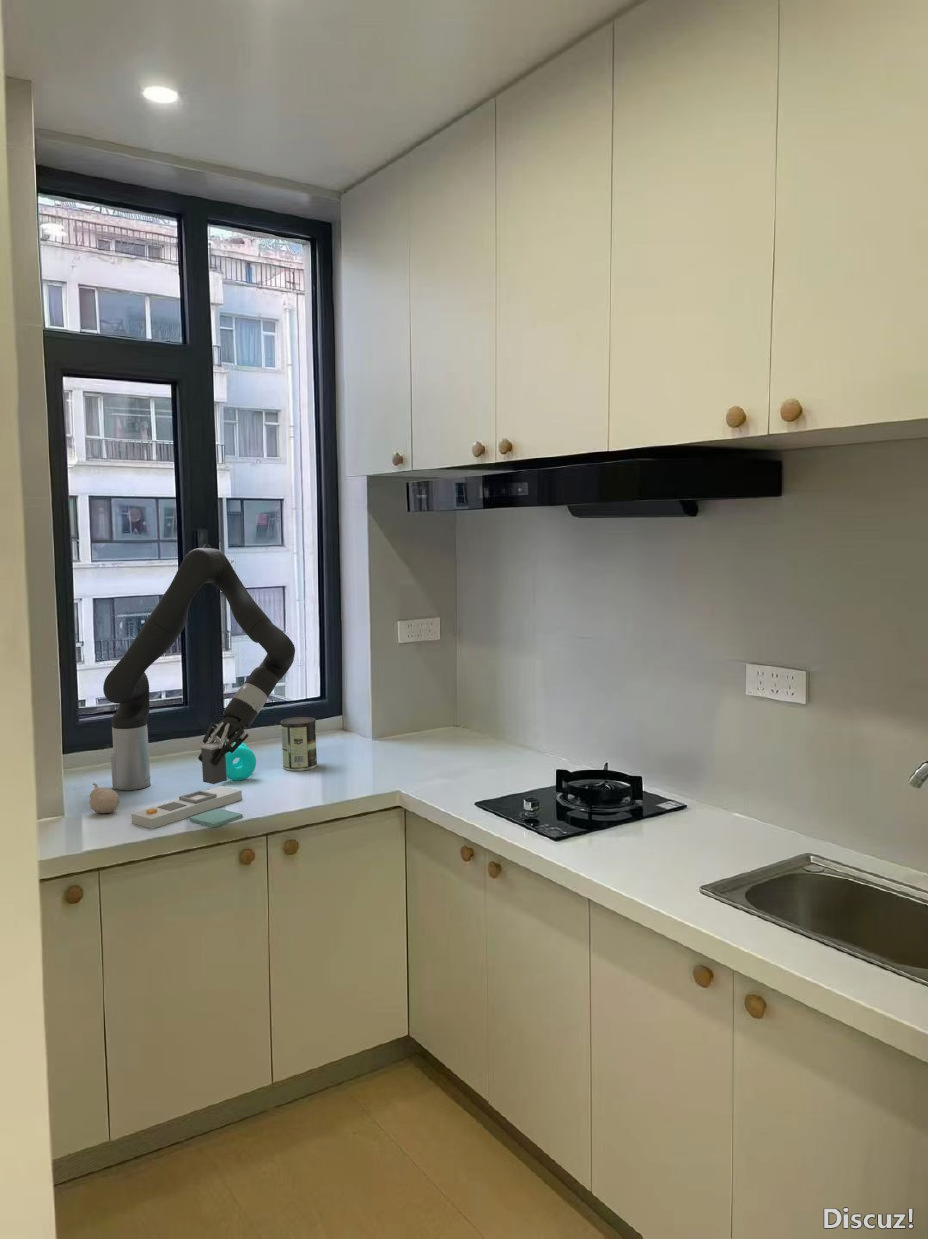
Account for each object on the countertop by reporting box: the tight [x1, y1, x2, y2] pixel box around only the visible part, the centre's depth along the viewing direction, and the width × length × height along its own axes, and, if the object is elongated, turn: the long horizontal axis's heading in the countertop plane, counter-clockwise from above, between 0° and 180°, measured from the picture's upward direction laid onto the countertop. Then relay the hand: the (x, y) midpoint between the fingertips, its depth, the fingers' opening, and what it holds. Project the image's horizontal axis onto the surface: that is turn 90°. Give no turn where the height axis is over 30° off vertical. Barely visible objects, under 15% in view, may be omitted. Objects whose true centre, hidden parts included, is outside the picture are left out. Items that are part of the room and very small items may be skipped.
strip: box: [130, 785, 243, 829], centre depth 239 cm, size 28×8×3 cm, turn 145°
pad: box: [188, 807, 244, 828], centre depth 232 cm, size 9×9×1 cm
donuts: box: [225, 741, 257, 782], centre depth 269 cm, size 10×10×10 cm
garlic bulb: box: [89, 782, 121, 814], centre depth 238 cm, size 7×6×8 cm
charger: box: [200, 742, 228, 785], centre depth 231 cm, size 4×4×9 cm
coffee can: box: [280, 716, 318, 772], centre depth 280 cm, size 10×10×14 cm
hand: (207, 762), depth 229 cm, fingers closed on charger, 4 cm apart
